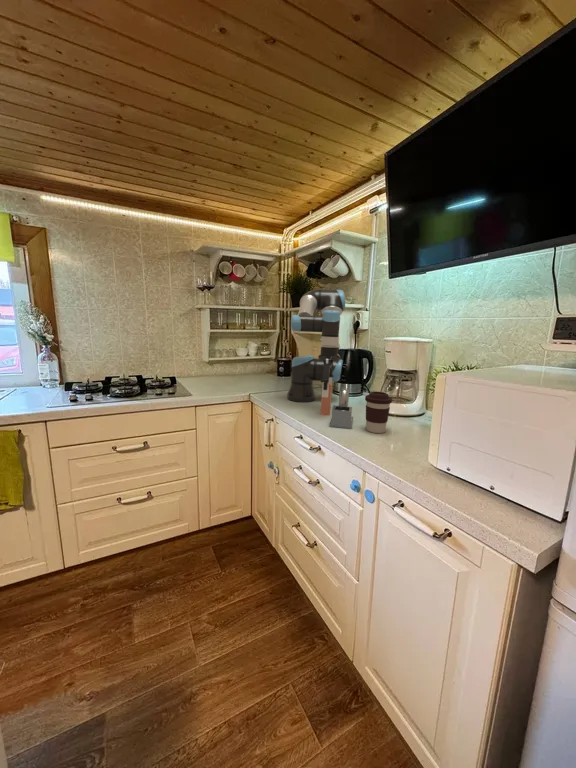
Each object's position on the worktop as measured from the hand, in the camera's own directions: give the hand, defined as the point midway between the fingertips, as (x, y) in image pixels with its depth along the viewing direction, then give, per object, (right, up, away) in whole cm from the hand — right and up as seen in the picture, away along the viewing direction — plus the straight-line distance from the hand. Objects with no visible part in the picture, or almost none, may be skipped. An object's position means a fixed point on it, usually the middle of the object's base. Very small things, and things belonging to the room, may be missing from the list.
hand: (326, 394), depth 144 cm
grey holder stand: (+5, -12, -9) cm, 16 cm away
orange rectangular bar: (0, -9, +2) cm, 9 cm away
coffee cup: (+17, -14, -18) cm, 29 cm away
